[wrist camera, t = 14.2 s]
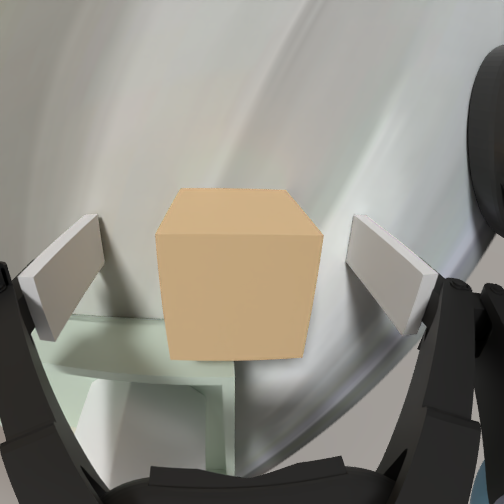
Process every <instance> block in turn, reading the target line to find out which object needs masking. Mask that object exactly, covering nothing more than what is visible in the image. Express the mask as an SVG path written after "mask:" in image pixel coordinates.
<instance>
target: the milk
mask: <svg viewBox="0 0 504 504" xmlns="http://www.w3.org/2000/svg"><path fill="white" fill-rule="evenodd" d="M205 426H206V397H205V396H204V395H202V394H201V393H199V392H198V391H197V390H195V389H194V388H192V387H191V386H189V385H170V384H151V383H137V382H126V381H115V380H106V379H96V380H95V381H94V382H92V384H91V386H90V389H89V392H88V395H87V398H86V400H85V403H84V406H83V409H82V412H81V415H80V418H79V421H78V425H77V428H76V431H75V434H74V435H75V437H76V439H77V440H78V442H79V444H80V446H81V448H82V449H83V451H84V453H85V454H86V456H87V458H88V459H89V461H90V463H91V464H92V466H93V467H94V469H95V471H96V472H97V474H98V475H99V477H100V478H101V479H102V481H103V482H104V483H105V485H106V486H107V487H108V488H109V490H111V489H113V488H115V487H117V486H119V485H121V484H123V483H126V482H129V481H132V480H136V479H141V478H146V477H150V466H157V467H170V468H190V469H201V470H205V471H206V455H205Z"/></svg>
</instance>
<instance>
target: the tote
mask: <svg viewBox="0 0 504 504" xmlns="http://www.w3.org/2000/svg"><path fill="white" fill-rule="evenodd" d="M31 335H32V338H33V340H34V343H35V346H36V349H37V351H38V354H39V357H40V360H41V362H42V365H43V368H44V370H45V373H46V375H47V378H48V380H49V383H50V385H51V387H52V390H53V392H54V394H55V396H56V399H57V401H58V403H59V405H60V407H61V409H62V411H63V414H64V416H65V418H66V420H67V422H68V424H69V425H70V426H72V427H76V428H77V425H78V421H79V418H80V415H81V412H82V409H83V406H84V403H85V400H86V398H87V395H88V392H89V389H90V386H91V384H92V382H94V381H95V380H96V379H106V380H115V381H126V382H137V383H151V384H170V385H189V386H191V387H192V388H194V389H195V390H197V391H198V392H199V393H201V394H202V395H204V396H205V397H206V426H205V455H206V471H210V472H214V473H219V474H224V475H230V476H235V371H234V361H191V360H170V354H169V347H168V341H167V335H166V328H165V321H164V319H148V318H124V317H105V316H90V315H76V314H72V315H71V316H70V318H69V320H68V321H67V323H66V325H65V326H64V328H63V330H62V331H61V333H60V335H59V337H58V338H57V340H56V342H51V341H44V340H40V338H39V336H38V334H37V331H36V329H35V328H34V330H33V331H32V333H31ZM0 425H1V426H2V423H1V419H0Z"/></svg>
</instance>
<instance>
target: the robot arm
mask: <svg viewBox="0 0 504 504" xmlns="http://www.w3.org/2000/svg"><path fill="white" fill-rule="evenodd" d="M468 143H469V160H470V169H471V176H472V182H473V187H474V191H475V195H476V198H477V202H478V205H479V207H480V210H481V212H482V214H483V216H484V218H485V220H486V222H487V223H488V225H489V226H490V227H491V228H492V229H493V231H495V232H496V233H497V234H498V235H500V236H502V237H503V238H504V45H501V46H498V47H496V48H495V49H493V50H492V51H491V52H490V53H489V54H488V55H487V56H486V57H485V59H484V60H483V62H482V64H481V66H480V68H479V71H478V73H477V76H476V79H475V83H474V86H473V91H472V96H471V103H470V111H469V127H468ZM346 262H347V264H348V265H349V266H350V268H351V269H352V270H353V271H354V273H355V274H356V275H357V276H358V278H359V279H360V280H361V282H362V283H363V284H364V285H365V287H366V288H367V289H368V291H369V292H370V293H371V295H372V296H373V297H374V299H375V300H376V301H377V303H378V304H379V305H380V307H381V308H382V309H383V311H384V312H385V313H386V315H387V316H388V317H389V319H390V320H391V321H392V323H393V324H394V326H395V327H396V328H397V330H398V331H399V332H400V334H401V335H402V336H407V335H413V334H417V332H418V330H419V327H420V325H421V322H423V323H424V324H425V325H426V330H425V332H424V335H423V337H422V339H421V342H420V344H419V346H418V348H417V349H418V350H420V351H419V355H418V359H417V362H416V366H415V370H414V373H413V377H412V380H411V383H410V386H409V390H408V393H407V396H406V399H405V402H404V405H403V408H402V411H401V414H400V417H399V419H398V422H397V424H396V427H395V430H394V432H393V435H392V437H391V440H390V442H389V445H388V447H387V449H386V452H385V454H384V457H383V459H382V461H381V463H380V465H379V467H378V468H377V470H376V472H374V471H371V470H367V469H362V468H357V467H348V466H344V462H343V459H342V457H341V456H337V457H332V458H326V459H321V460H315V461H309V462H302V463H297V464H294V465H291V466H288V467H285V468H282V469H280V470H276V471H273V472H270V473H267V474H264V475H260V476H257V477H254V478H241V477H235V476H230V475H224V474H219V473H214V472H210V471H205V470H201V469H190V468H170V467H157V466H150V477H146V478H141V479H136V480H132V481H129V482H126V483H123V484H121V485H119V486H117V487H115V488H113V489H111V490H109V488H108V487H107V486H106V485H105V483H104V482H103V481H102V479H101V478H100V477H99V475H98V474H97V472H96V471H95V469H94V467H93V466H92V464H91V463H90V461H89V459H88V458H87V456H86V454H85V453H84V451H83V449H82V448H81V446H80V444H79V442H78V440H77V439H76V437H75V435H74V433H73V431H72V429H71V427H70V425H69V424H68V422H67V420H66V418H65V416H64V414H63V411H62V409H61V407H60V405H59V403H58V401H57V399H56V396H55V394H54V392H53V390H52V387H51V385H50V383H49V380H48V378H47V375H46V373H45V370H44V368H43V365H42V362H41V360H40V357H39V354H38V351H37V349H36V346H35V343H34V340H33V338H32V335H31V333H32V331H33V330H34V328H35V329H36V331H37V334H38V336H39V338H40V340H44V341H51V342H56V340H57V338H58V337H59V335H60V333H61V331H62V330H63V328H64V326H65V325H66V323H67V321H68V320H69V318H70V316H71V315H72V313H73V311H74V310H75V308H76V306H77V305H78V303H79V302H80V300H81V298H82V297H83V295H84V294H85V292H86V291H87V289H88V287H89V286H90V284H91V283H92V281H93V280H94V278H95V277H96V275H97V274H98V272H99V271H100V269H101V268H102V266H103V265H104V263H105V260H104V254H103V247H102V241H101V234H100V227H99V219H98V214H87V215H84V216H83V217H82V218H80V219H79V220H78V221H77V222H76V223H75V224H73V225H72V226H71V227H70V228H69V229H68V230H66V231H65V232H64V233H63V234H62V235H61V236H60V237H59V238H57V239H56V240H55V241H54V242H53V243H52V244H51V245H50V246H49V247H48V248H46V249H45V250H44V251H43V252H42V253H41V254H40V255H39V256H38V257H37V258H35V259H34V260H32V261H31V262H30V263H29V264H28V265H27V267H25V268H24V269H23V270H22V272H20V273H19V274H18V275H17V276H16V277H15V278H14V279H13V280H12V281H11V277H10V274H9V271H8V267H7V264H6V263H5V262H2V261H1V262H0V419H1V423H2V427H3V430H4V434H5V437H6V442H4V443H1V444H0V451H1V456H2V459H3V462H4V465H5V468H6V471H7V474H8V477H9V479H10V482H11V485H12V487H13V489H14V492H15V495H16V497H17V499H18V502H19V504H468V501H469V496H470V492H471V488H472V483H473V478H474V474H475V468H476V463H477V457H478V450H479V443H480V434H481V430H482V438H483V447H484V458H485V460H484V461H483V463H482V465H481V466H480V469H479V471H478V473H477V476H476V478H475V481H474V485H473V489H472V494H471V499H470V504H504V289H503V288H502V287H501V286H499V285H497V284H492V283H487V284H485V285H484V287H483V290H482V292H481V294H480V293H473V292H472V290H471V287H470V286H469V285H468V284H466V283H465V282H463V281H462V280H460V279H455V278H446V279H445V278H443V277H442V276H441V275H440V274H439V273H438V272H437V271H436V270H434V269H433V268H432V267H431V266H430V265H429V264H427V263H426V262H425V261H424V260H423V259H421V258H420V257H418V256H417V255H416V254H415V253H413V252H412V251H411V250H410V249H409V248H407V247H406V246H405V245H404V244H402V243H401V242H400V241H399V240H398V239H396V238H395V237H394V236H393V235H391V234H390V233H389V232H387V231H386V230H385V229H384V228H382V227H381V226H380V225H378V224H377V223H376V222H375V221H373V220H372V219H371V218H369V217H368V216H367V215H354V216H353V223H352V229H351V235H350V241H349V247H348V252H347V258H346ZM474 389H475V394H476V399H477V405H478V411H479V417H480V423H481V425H480V423H479V422H477V421H473V420H471V414H472V404H473V392H474Z"/></svg>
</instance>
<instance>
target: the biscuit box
mask: <svg viewBox="0 0 504 504" xmlns="http://www.w3.org/2000/svg"><path fill="white" fill-rule="evenodd" d="M323 236H324V235H323V234H322V233H321V232H320V231H319V229H318V228H317V227H316V226H315V224H314V223H313V222H312V221H311V220H310V218H309V217H308V216H307V215H306V214H305V212H304V211H303V210H302V209H301V208H300V206H299V205H298V204H297V203H296V202H295V200H294V199H293V198H292V197H291V196H290V195H289V193H288V192H287V191H286V190H271V189H230V188H181V189H180V190H179V192H178V194H177V196H176V197H175V199H174V201H173V203H172V204H171V206H170V208H169V210H168V212H167V213H166V215H165V217H164V219H163V221H162V223H161V224H160V226H159V228H158V230H157V232H156V234H155V237H156V250H157V261H158V271H159V280H160V289H161V298H162V306H163V313H164V321H165V328H166V335H167V341H168V347H169V354H170V360H191V361H239V360H269V359H288V358H302V357H303V352H304V347H305V342H306V337H307V332H308V327H309V321H310V316H311V311H312V305H313V299H314V294H315V288H316V282H317V276H318V270H319V263H320V257H321V250H322V243H323Z"/></svg>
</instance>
